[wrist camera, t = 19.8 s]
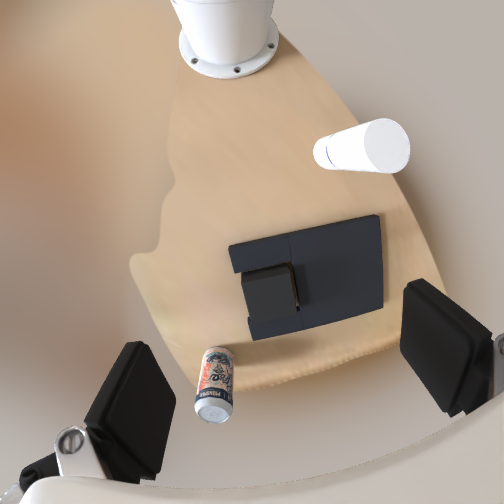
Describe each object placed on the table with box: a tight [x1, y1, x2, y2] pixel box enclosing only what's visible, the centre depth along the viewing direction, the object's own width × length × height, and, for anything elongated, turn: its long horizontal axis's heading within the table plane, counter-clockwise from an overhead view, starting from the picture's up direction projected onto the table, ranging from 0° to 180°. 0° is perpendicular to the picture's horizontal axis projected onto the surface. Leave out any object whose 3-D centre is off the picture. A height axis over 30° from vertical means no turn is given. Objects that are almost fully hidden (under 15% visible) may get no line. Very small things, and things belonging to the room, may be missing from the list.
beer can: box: [195, 347, 234, 424], centre depth 34 cm, size 5×5×12 cm
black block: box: [241, 263, 297, 324], centre depth 35 cm, size 6×6×4 cm
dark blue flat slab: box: [228, 215, 383, 341], centre depth 36 cm, size 14×20×2 cm
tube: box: [314, 118, 410, 173], centre depth 25 cm, size 4×4×15 cm
